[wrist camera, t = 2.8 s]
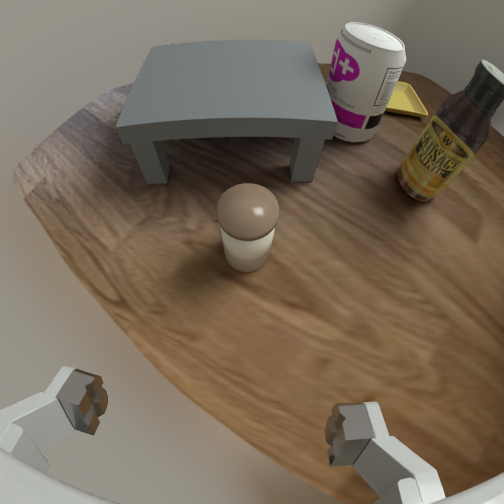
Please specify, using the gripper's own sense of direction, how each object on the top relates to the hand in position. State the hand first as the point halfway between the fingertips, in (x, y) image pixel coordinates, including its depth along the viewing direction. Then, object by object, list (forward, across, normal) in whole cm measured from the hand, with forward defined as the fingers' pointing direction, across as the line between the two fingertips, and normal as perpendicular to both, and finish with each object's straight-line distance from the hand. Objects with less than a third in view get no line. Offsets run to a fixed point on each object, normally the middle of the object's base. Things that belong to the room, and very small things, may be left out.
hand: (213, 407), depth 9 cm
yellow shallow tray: (+42, -22, -18) cm, 51 cm away
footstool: (+32, +3, -8) cm, 34 cm away
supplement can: (+36, -12, -12) cm, 40 cm away
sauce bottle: (+29, -21, -5) cm, 37 cm away
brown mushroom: (+21, 0, +3) cm, 22 cm away
